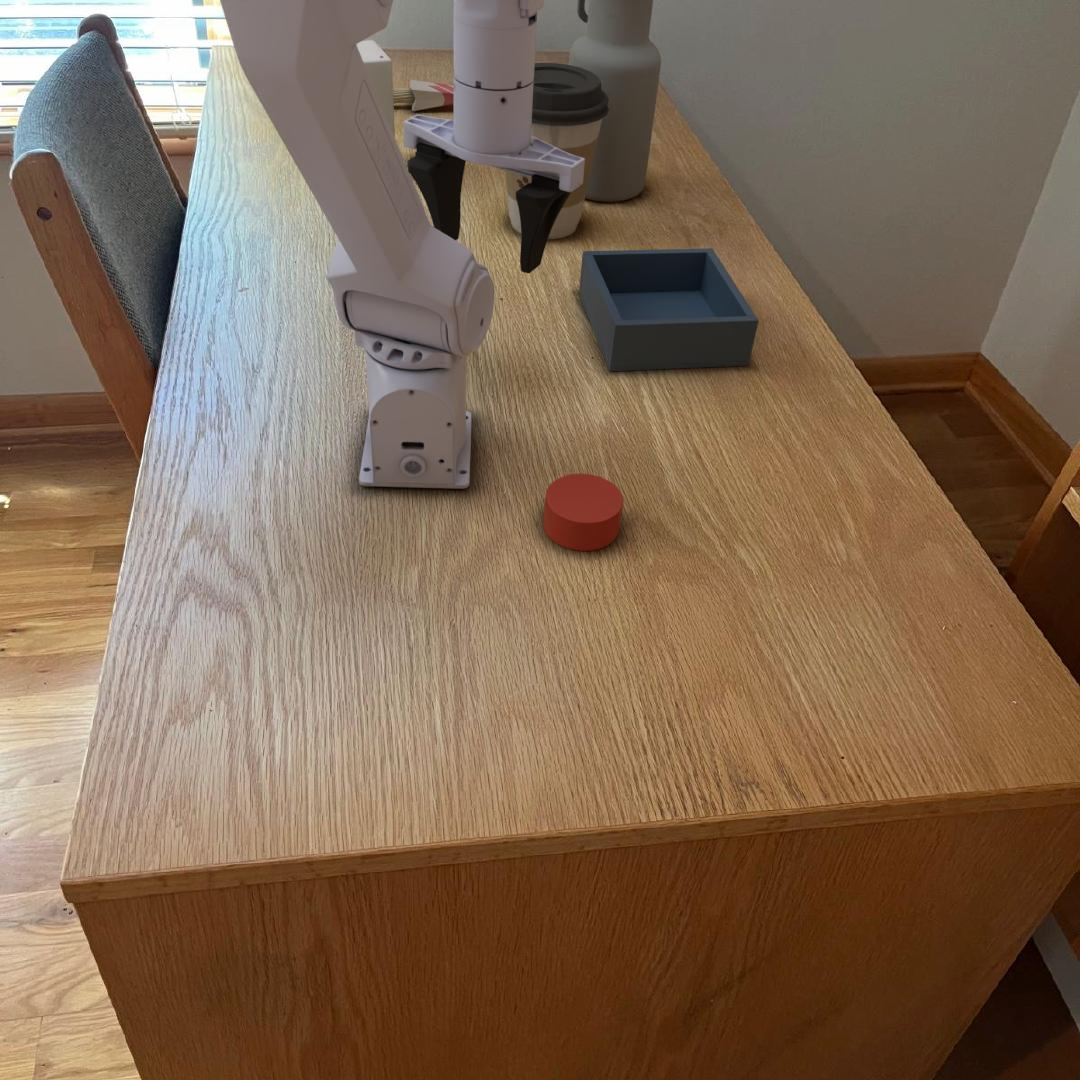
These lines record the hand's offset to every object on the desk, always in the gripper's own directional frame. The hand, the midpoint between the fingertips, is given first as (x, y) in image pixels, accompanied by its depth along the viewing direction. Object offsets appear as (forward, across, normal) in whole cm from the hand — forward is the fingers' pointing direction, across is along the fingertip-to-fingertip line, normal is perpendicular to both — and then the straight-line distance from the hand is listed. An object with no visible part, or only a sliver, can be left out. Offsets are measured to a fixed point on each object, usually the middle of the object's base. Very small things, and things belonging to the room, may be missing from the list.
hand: (489, 254), depth 82 cm
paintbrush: (+8, +40, -47) cm, 62 cm away
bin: (+10, -11, -14) cm, 20 cm away
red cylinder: (+10, -17, +15) cm, 25 cm away
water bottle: (+10, +8, -40) cm, 42 cm away
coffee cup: (+10, +9, -27) cm, 30 cm away
